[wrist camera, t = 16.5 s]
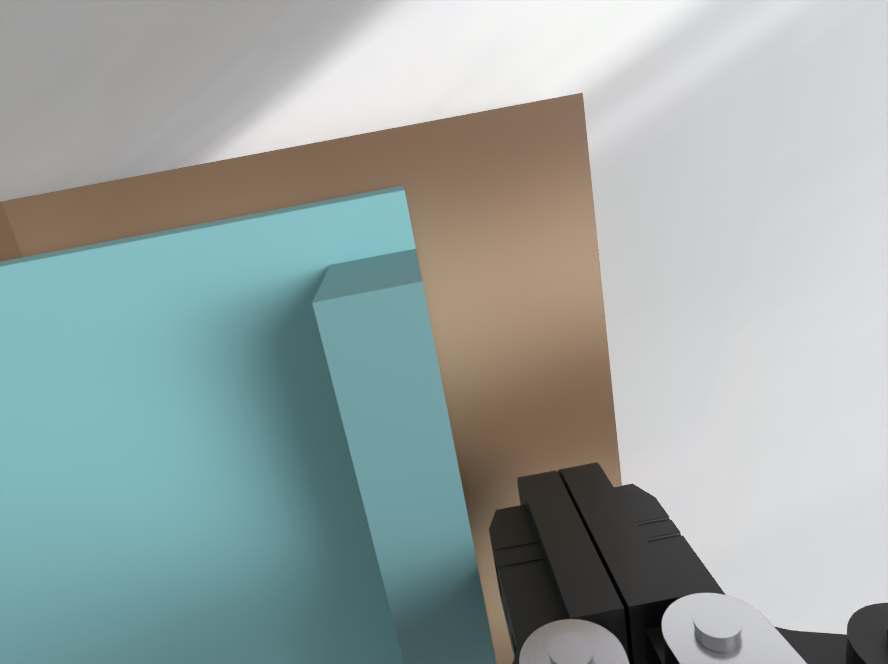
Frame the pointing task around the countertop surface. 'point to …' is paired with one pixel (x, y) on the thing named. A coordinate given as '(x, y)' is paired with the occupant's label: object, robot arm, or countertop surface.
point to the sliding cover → (232, 449)
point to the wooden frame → (432, 275)
